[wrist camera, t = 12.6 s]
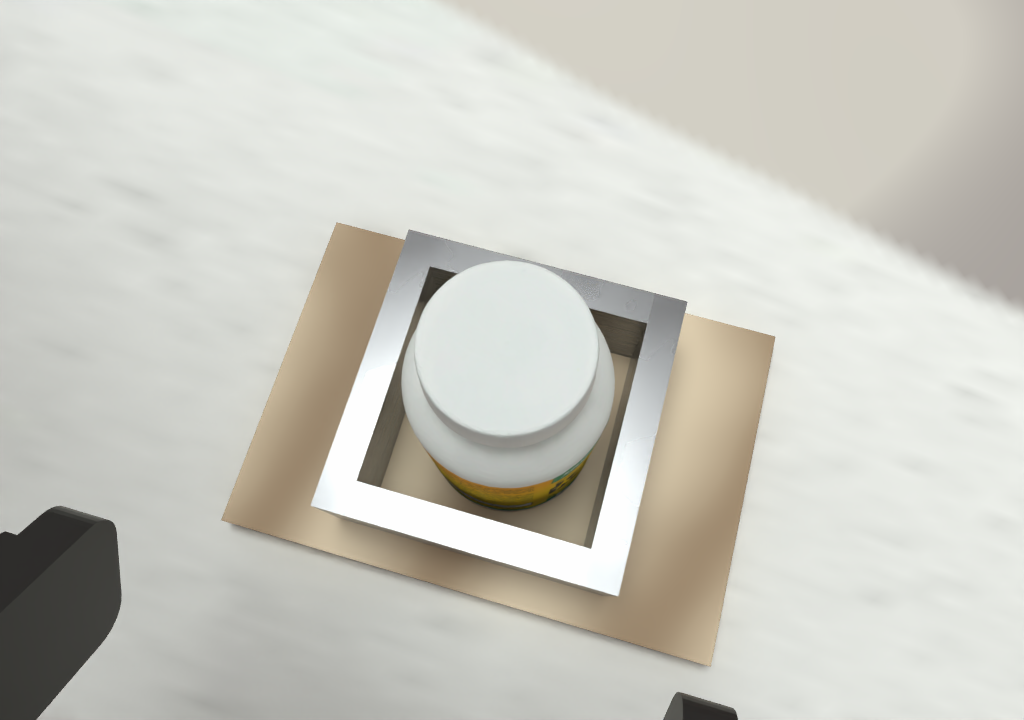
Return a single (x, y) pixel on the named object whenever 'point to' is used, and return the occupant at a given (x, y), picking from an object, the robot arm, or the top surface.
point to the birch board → (657, 533)
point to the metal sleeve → (360, 499)
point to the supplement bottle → (508, 384)
